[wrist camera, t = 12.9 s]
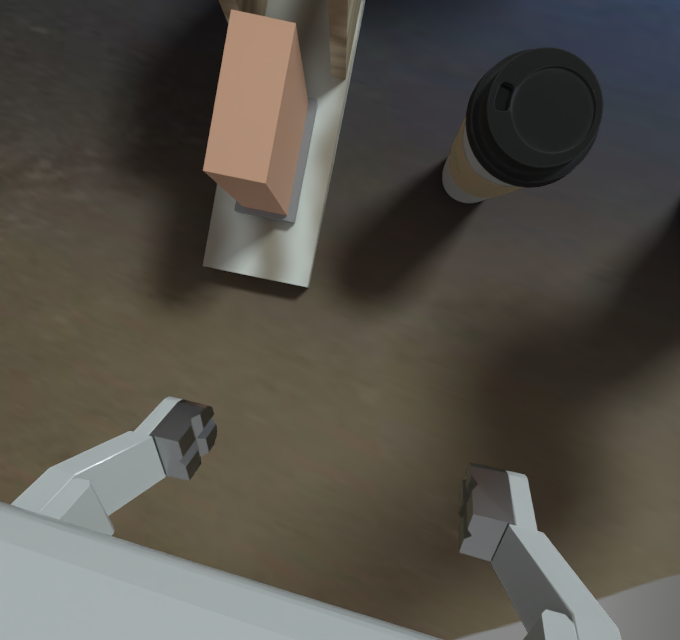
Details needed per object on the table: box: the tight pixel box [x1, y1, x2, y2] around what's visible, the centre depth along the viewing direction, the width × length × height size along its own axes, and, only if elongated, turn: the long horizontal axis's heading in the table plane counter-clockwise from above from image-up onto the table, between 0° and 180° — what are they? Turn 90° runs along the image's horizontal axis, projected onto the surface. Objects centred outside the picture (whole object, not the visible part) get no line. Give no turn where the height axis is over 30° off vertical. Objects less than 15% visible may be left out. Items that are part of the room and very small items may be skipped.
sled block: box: [203, 9, 318, 224], centre depth 33 cm, size 6×12×12 cm, turn 169°
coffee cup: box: [442, 48, 603, 203], centre depth 33 cm, size 9×9×15 cm
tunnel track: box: [203, 0, 366, 288], centre depth 31 cm, size 11×44×18 cm, turn 169°
